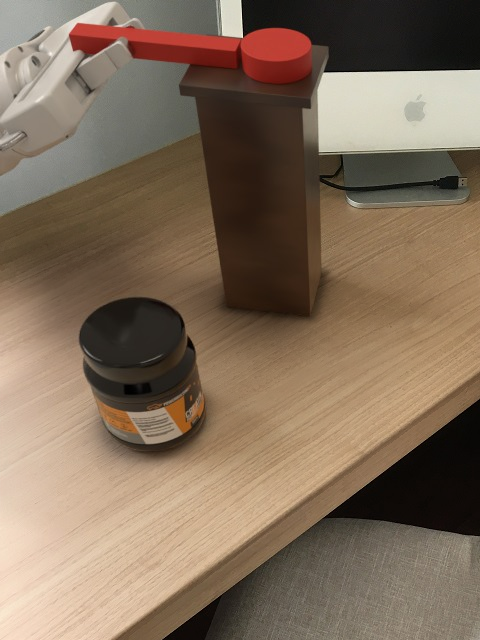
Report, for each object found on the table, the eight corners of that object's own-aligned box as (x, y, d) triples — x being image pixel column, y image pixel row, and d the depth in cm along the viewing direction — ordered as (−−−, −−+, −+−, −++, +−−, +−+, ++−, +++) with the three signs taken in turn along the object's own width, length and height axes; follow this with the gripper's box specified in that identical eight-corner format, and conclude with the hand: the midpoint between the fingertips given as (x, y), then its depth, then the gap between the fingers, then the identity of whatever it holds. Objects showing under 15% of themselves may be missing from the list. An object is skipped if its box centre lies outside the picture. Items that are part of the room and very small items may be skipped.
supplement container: (167, 471, 77) (142, 386, 68) (82, 432, 80) (46, 344, 70) (227, 403, 83) (212, 315, 73) (146, 368, 85) (121, 278, 76)
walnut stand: (215, 311, 91) (178, 84, 70) (235, 258, 97) (206, 33, 76) (317, 323, 91) (310, 98, 70) (331, 268, 97) (328, 46, 75)
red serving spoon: (65, 62, 72) (58, 39, 70) (88, 31, 75) (83, 8, 74) (305, 87, 71) (304, 64, 69) (317, 54, 74) (316, 31, 73)
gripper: (-39, 126, 70) (70, 58, 64) (45, 23, 82) (144, -42, 76) (16, 185, 74) (123, 127, 68) (88, 80, 86) (185, 23, 80)
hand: (134, 38), depth 72 cm, fingers closed on red serving spoon, 2 cm apart
